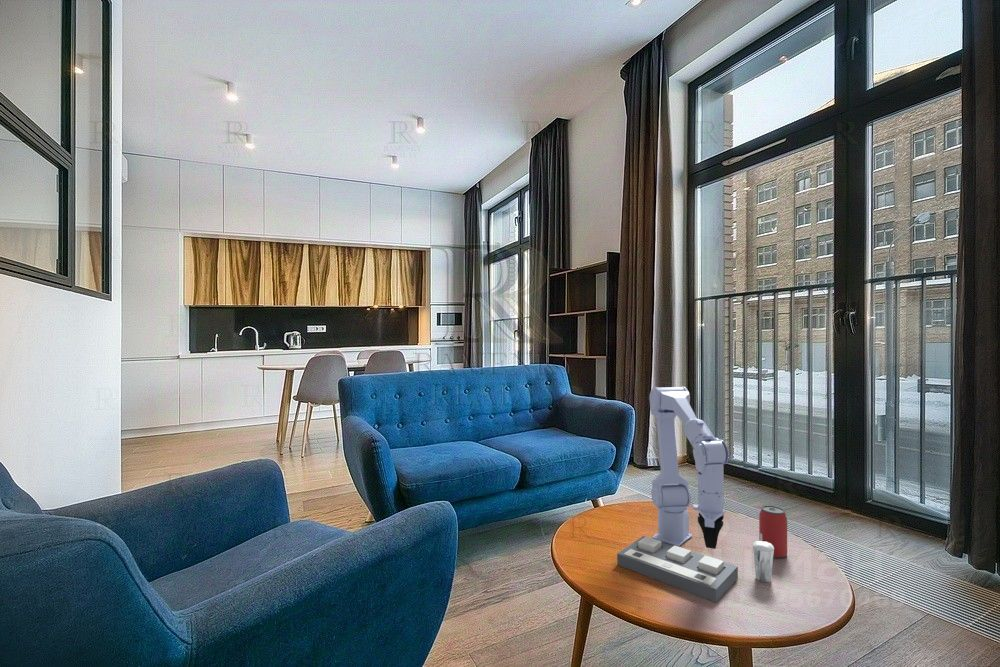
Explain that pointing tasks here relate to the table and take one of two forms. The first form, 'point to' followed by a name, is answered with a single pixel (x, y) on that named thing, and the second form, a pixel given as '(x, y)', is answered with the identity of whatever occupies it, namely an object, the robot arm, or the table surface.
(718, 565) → the key
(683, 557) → the key middle
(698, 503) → the robot arm
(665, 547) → the button board
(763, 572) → the milkshake
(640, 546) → the key
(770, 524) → the beer can
